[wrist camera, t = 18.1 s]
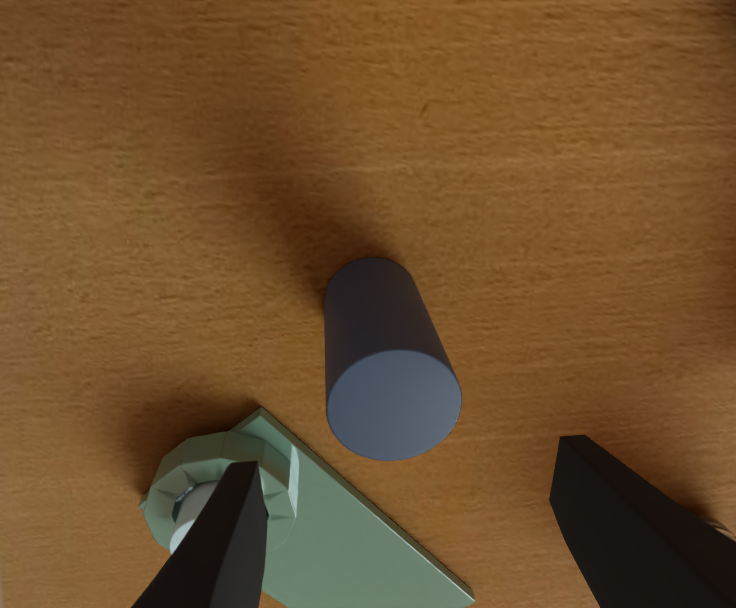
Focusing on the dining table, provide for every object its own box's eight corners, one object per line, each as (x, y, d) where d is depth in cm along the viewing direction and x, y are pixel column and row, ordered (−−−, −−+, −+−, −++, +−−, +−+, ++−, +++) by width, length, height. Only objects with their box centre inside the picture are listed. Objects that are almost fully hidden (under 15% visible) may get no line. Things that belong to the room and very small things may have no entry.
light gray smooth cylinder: (163, 508, 22) (149, 547, 21) (222, 466, 22) (212, 502, 20) (222, 549, 24) (214, 589, 22) (279, 510, 23) (275, 548, 21)
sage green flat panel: (121, 481, 24) (100, 523, 22) (241, 389, 23) (233, 424, 20) (368, 651, 32) (371, 696, 29) (472, 590, 30) (485, 633, 28)
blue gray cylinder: (304, 297, 21) (296, 405, 14) (378, 237, 20) (407, 321, 13) (364, 358, 23) (383, 482, 16) (436, 304, 22) (488, 411, 15)
